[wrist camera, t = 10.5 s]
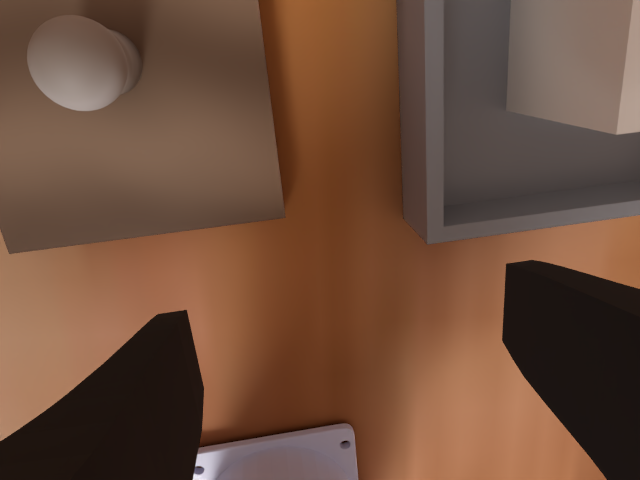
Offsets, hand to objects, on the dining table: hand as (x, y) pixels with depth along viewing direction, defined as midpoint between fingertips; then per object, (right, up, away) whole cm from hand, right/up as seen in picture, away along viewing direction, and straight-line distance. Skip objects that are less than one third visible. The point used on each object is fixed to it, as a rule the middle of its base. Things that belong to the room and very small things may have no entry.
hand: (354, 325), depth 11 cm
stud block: (-8, +8, +6) cm, 13 cm away
